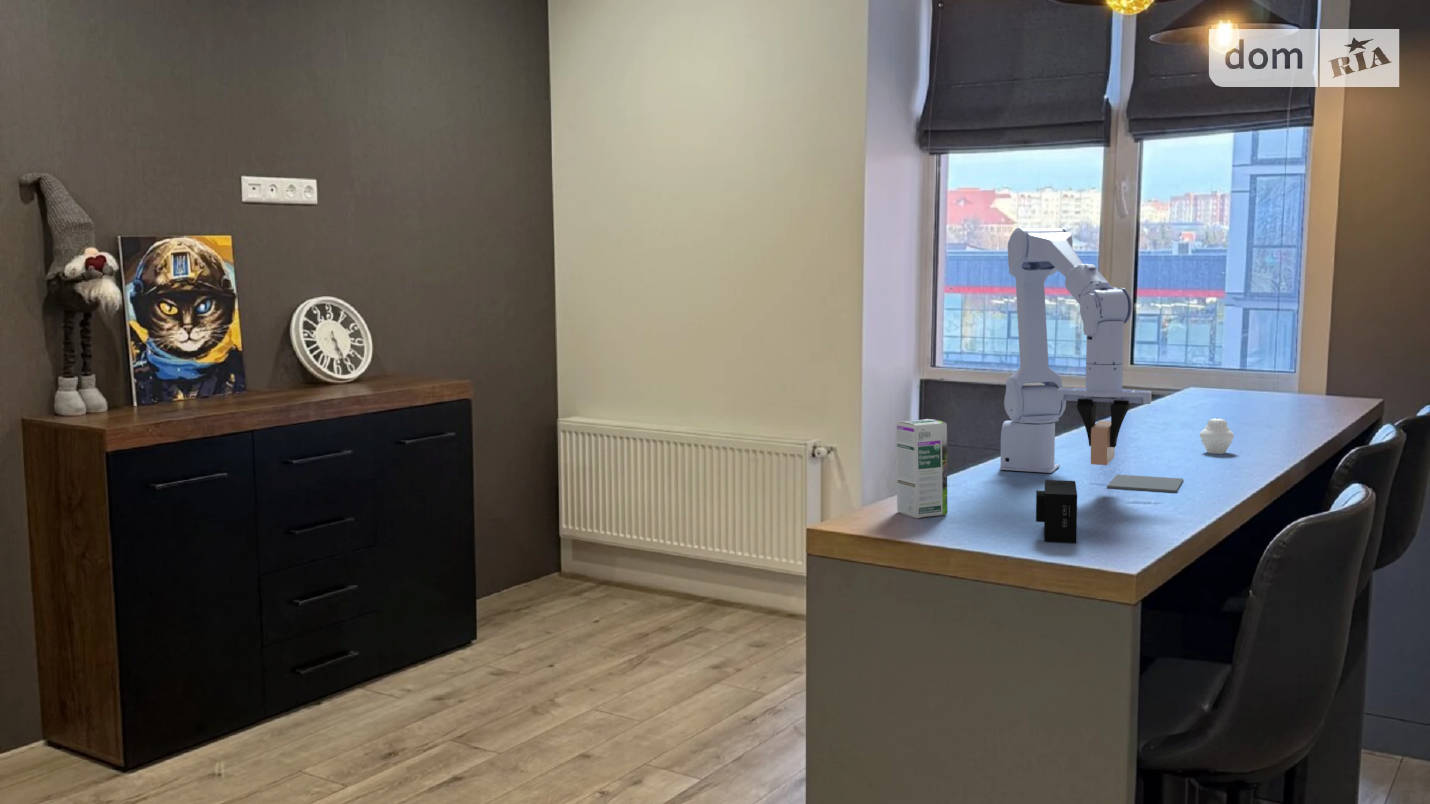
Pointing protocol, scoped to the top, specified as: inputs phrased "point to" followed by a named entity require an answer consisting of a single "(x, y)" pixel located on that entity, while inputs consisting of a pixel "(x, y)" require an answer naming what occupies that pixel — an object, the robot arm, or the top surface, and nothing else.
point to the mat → (1145, 483)
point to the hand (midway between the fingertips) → (1102, 445)
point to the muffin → (1216, 436)
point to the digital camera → (1058, 511)
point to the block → (1101, 443)
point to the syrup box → (921, 468)
